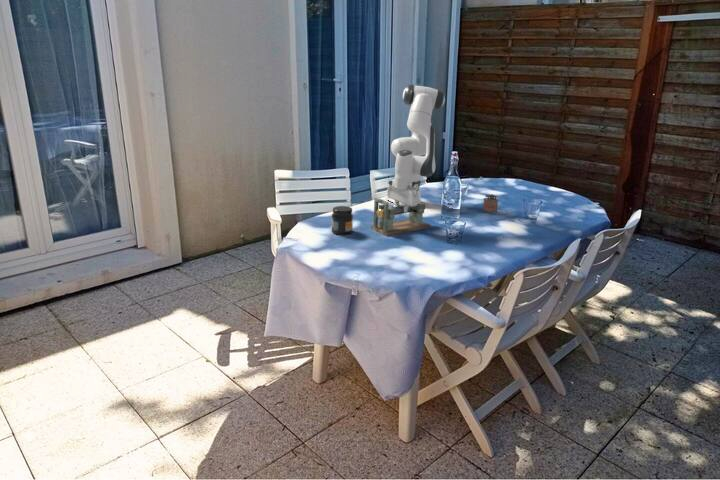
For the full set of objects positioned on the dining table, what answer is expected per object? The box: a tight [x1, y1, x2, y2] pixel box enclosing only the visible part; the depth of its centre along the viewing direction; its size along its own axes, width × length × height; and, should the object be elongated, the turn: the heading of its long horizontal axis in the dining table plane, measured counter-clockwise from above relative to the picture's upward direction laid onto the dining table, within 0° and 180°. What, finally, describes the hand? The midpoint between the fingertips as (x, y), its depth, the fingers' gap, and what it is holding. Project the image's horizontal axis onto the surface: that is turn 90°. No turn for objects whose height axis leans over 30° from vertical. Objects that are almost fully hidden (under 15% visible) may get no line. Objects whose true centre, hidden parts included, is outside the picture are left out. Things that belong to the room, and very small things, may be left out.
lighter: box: [482, 193, 499, 214], centre depth 311 cm, size 8×3×10 cm, turn 84°
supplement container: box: [331, 205, 354, 236], centre depth 270 cm, size 10×10×12 cm
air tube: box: [376, 201, 426, 219], centre depth 277 cm, size 28×4×4 cm, turn 125°
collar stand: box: [370, 197, 431, 237], centre depth 277 cm, size 13×28×16 cm, turn 125°
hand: (401, 210), depth 277 cm, fingers closed on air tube, 4 cm apart
